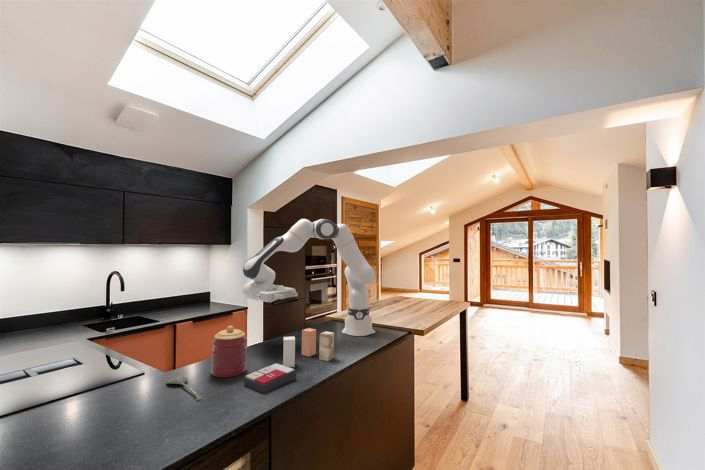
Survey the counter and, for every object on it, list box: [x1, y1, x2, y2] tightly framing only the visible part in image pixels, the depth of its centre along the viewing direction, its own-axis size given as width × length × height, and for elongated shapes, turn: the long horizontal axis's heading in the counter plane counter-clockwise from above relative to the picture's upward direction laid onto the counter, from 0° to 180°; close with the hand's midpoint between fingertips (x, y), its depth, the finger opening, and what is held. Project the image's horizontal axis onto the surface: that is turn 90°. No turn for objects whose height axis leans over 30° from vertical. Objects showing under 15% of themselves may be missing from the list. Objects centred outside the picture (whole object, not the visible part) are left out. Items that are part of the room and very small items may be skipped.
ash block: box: [318, 331, 335, 362], centre depth 144 cm, size 4×4×11 cm
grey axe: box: [165, 375, 203, 401], centre depth 112 cm, size 22×3×7 cm
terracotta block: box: [301, 327, 317, 357], centre depth 150 cm, size 4×4×11 cm
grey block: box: [282, 335, 296, 368], centre depth 136 cm, size 4×4×11 cm
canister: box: [210, 325, 248, 378], centre depth 128 cm, size 13×13×18 cm
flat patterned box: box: [243, 363, 297, 394], centre depth 119 cm, size 11×4×15 cm
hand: (290, 295), depth 157 cm, fingers open, 8 cm apart
